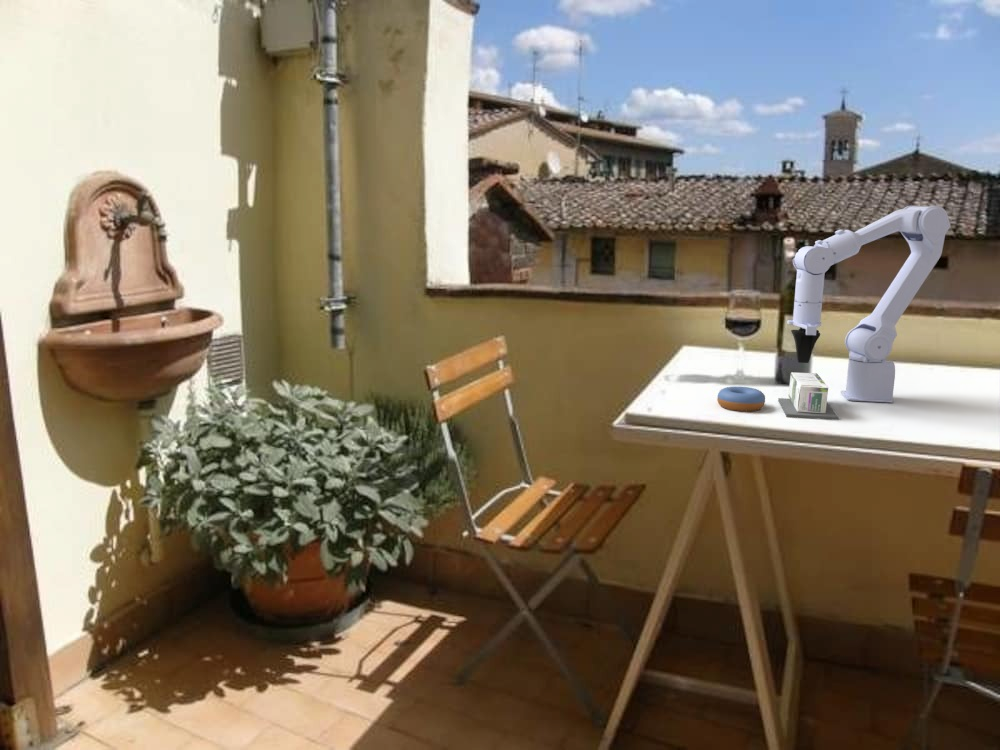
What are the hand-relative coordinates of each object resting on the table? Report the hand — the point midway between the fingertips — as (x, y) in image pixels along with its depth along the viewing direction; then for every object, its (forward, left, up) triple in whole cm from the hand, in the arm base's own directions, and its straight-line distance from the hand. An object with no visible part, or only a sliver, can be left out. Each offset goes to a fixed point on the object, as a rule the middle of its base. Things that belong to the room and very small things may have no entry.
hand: (803, 362), depth 176 cm
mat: (0, +10, -8) cm, 13 cm away
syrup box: (0, 0, -5) cm, 5 cm away
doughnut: (+14, +10, -9) cm, 19 cm away
